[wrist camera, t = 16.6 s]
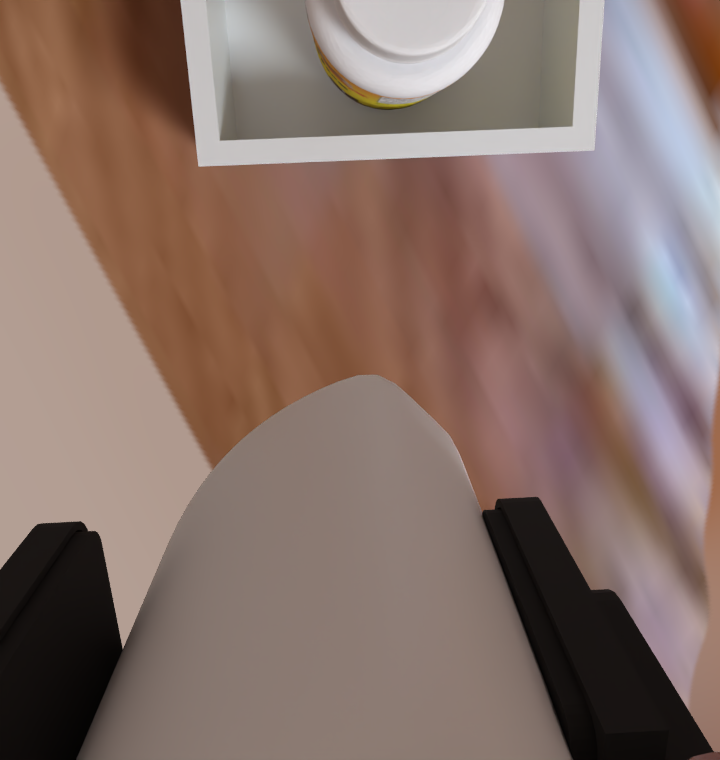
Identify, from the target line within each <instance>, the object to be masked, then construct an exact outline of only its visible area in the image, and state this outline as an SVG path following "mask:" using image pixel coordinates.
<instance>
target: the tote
mask: <svg viewBox="0 0 720 760" xmlns="http://www.w3.org/2000/svg"><path fill="white" fill-rule="evenodd" d="M181 10H182V19H183V28H184V37H185V46H186V56H187V65H188V74H189V83H190V93H191V102H192V111H193V120H194V129H195V139H196V148H197V157H198V166H223V165H248V164H272V163H297V162H322V161H346V160H371V159H396V158H420V157H445V156H470V155H494V154H519V153H544V152H568V151H593V150H594V148H595V133H596V118H597V103H598V88H599V74H600V59H601V44H602V29H603V14H604V0H504V6H503V10H502V14H501V17H500V21H499V24H498V27H497V29H496V32H495V34H494V36H493V38H492V40H491V42H490V44H489V45H488V47H487V49H486V50H485V52H484V53H483V55H482V56H481V57H480V58H479V60H478V61H477V62H476V63H475V64H474V65H473V67H472V68H471V69H470V70H469V71H468V72H467V73H466V74H464V75H463V76H462V77H461V78H460V79H458V80H457V81H455V82H454V83H453V84H451V85H450V86H448V87H446V88H444V89H442V90H441V91H439V92H437V93H435V94H434V95H432V96H430V97H428V98H426V99H425V100H423V101H421V102H419V103H417V104H415V105H412V106H410V107H406V108H401V109H394V110H381V109H374V108H370V107H367V106H364V105H361V104H359V103H357V102H355V101H354V100H352V99H350V98H349V97H348V96H346V95H345V94H344V93H343V92H342V91H340V90H339V89H338V88H337V86H336V85H335V84H334V83H333V82H332V80H331V79H330V78H329V76H328V75H327V73H326V72H325V70H324V68H323V66H322V64H321V61H320V59H319V56H318V53H317V50H316V46H315V43H314V39H313V35H312V32H311V28H310V25H309V21H308V18H307V12H306V6H305V0H181Z"/></svg>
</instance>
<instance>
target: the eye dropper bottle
mask: <svg viewBox="0 0 720 760" xmlns="http://www.w3.org/2000/svg"><path fill="white" fill-rule="evenodd" d="M76 760H573V758H572V756H571V753H570V750H569V748H568V745H567V742H566V739H565V736H564V734H563V731H562V728H561V725H560V722H559V720H558V717H557V714H556V711H555V708H554V706H553V703H552V700H551V697H550V694H549V692H548V689H547V686H546V684H545V681H544V678H543V676H542V673H541V670H540V668H539V665H538V662H537V660H536V657H535V654H534V652H533V649H532V646H531V644H530V641H529V638H528V636H527V633H526V630H525V628H524V625H523V622H522V620H521V617H520V614H519V612H518V609H517V606H516V604H515V601H514V598H513V596H512V593H511V590H510V588H509V585H508V582H507V580H506V577H505V574H504V572H503V569H502V566H501V564H500V561H499V558H498V556H497V553H496V551H495V548H494V545H493V543H492V540H491V537H490V535H489V532H488V530H487V527H486V524H485V522H484V519H483V516H482V511H481V508H480V506H479V503H478V501H477V498H476V495H475V493H474V490H473V488H472V485H471V482H470V480H469V477H468V475H467V472H466V469H465V467H464V464H463V462H462V459H461V457H460V454H459V452H458V450H457V448H456V446H455V445H454V443H453V441H452V439H451V437H450V435H449V434H448V433H447V432H446V431H445V430H444V429H443V428H442V427H441V426H440V425H439V424H438V423H437V422H436V421H435V420H434V419H433V418H432V417H431V416H430V415H429V414H428V413H427V412H426V411H425V410H423V409H422V408H421V407H420V406H419V405H418V404H417V403H416V402H415V401H414V400H413V399H412V398H411V397H410V396H409V395H408V394H406V393H405V392H404V391H403V390H402V389H401V388H400V387H398V386H397V385H396V384H395V383H393V382H391V381H389V380H387V379H385V378H383V377H381V376H379V375H357V376H354V377H351V378H348V379H345V380H342V381H339V382H336V383H334V384H331V385H329V386H327V387H324V388H322V389H320V390H317V391H315V392H313V393H311V394H309V395H307V396H305V397H303V398H301V399H299V400H298V401H296V402H294V403H292V404H290V405H289V406H287V407H285V408H284V409H282V410H281V411H279V412H278V413H276V414H274V415H273V416H271V417H270V418H269V419H267V420H266V421H264V422H263V423H262V424H260V425H259V426H258V427H256V428H255V429H254V430H253V431H251V432H250V433H249V434H248V435H247V436H245V437H244V438H243V439H242V440H241V441H240V442H239V443H238V444H237V445H236V446H234V447H233V448H232V449H231V450H230V452H229V453H228V454H227V455H226V456H225V457H224V458H223V459H222V460H221V461H220V462H219V463H218V465H217V466H216V467H215V468H214V469H213V470H212V472H211V473H210V474H209V475H208V477H207V478H206V479H205V481H204V482H203V483H202V485H201V486H200V488H199V489H198V490H197V492H196V494H195V495H194V497H193V498H192V500H191V501H190V503H189V504H188V506H187V508H186V510H185V511H184V513H183V515H182V517H181V519H180V521H179V522H178V524H177V527H176V529H175V531H174V533H173V535H172V537H171V539H170V541H169V544H168V546H167V548H166V551H165V553H164V555H163V557H162V560H161V562H160V564H159V567H158V569H157V572H156V574H155V576H154V578H153V581H152V583H151V585H150V588H149V590H148V592H147V595H146V597H145V599H144V602H143V604H142V606H141V609H140V611H139V613H138V616H137V618H136V620H135V623H134V625H133V627H132V630H131V632H130V635H129V637H128V639H127V641H126V644H125V646H124V648H123V651H122V653H121V655H120V658H119V660H118V662H117V665H116V667H115V669H114V672H113V674H112V676H111V679H110V681H109V683H108V686H107V688H106V691H105V693H104V695H103V698H102V700H101V702H100V705H99V707H98V709H97V712H96V714H95V716H94V719H93V721H92V724H91V726H90V728H89V731H88V733H87V735H86V738H85V740H84V742H83V745H82V747H81V749H80V752H79V754H78V757H77V759H76Z"/></svg>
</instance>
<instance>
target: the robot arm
mask: <svg viewBox="0 0 720 760" xmlns="http://www.w3.org/2000/svg"><path fill="white" fill-rule="evenodd" d="M482 516H483V519H484V522H485V524H486V527H487V530H488V532H489V535H490V537H491V540H492V543H493V545H494V548H495V551H496V553H497V556H498V558H499V561H500V564H501V566H502V569H503V572H504V574H505V577H506V580H507V582H508V585H509V588H510V590H511V593H512V596H513V598H514V601H515V604H516V606H517V609H518V612H519V614H520V617H521V620H522V622H523V625H524V628H525V630H526V633H527V636H528V638H529V641H530V644H531V646H532V649H533V652H534V654H535V657H536V660H537V662H538V665H539V668H540V670H541V673H542V676H543V678H544V681H545V684H546V686H547V689H548V692H549V694H550V697H551V700H552V703H553V706H554V708H555V711H556V714H557V717H558V720H559V722H560V725H561V728H562V731H563V734H564V736H565V739H566V742H567V745H568V748H569V750H570V753H571V756H572V758H573V760H720V752H714V751H713V750H712V748H711V747H710V745H709V743H708V742H707V740H706V739H705V737H704V735H703V733H702V732H701V730H700V729H699V727H698V725H697V724H696V722H695V721H694V719H693V717H692V716H691V714H690V712H689V711H688V709H687V707H686V706H685V704H684V702H683V701H682V699H681V698H680V696H679V694H678V693H677V691H676V689H675V688H674V686H673V685H672V683H671V681H670V680H669V678H668V676H667V675H666V673H665V671H664V670H663V668H662V667H661V665H660V663H659V662H658V660H657V658H656V657H655V655H654V654H653V652H652V650H651V649H650V647H649V645H648V644H647V642H646V640H645V639H644V637H643V636H642V634H641V632H640V631H639V629H638V627H637V626H636V624H635V623H634V621H633V619H632V618H631V616H630V614H629V613H628V611H627V609H626V608H625V606H624V605H623V603H622V601H621V600H620V598H619V597H618V596H617V595H616V593H615V592H613V591H611V590H609V589H604V590H590V588H589V586H588V584H587V582H586V581H585V579H584V577H583V575H582V573H581V572H580V570H579V568H578V566H577V564H576V563H575V561H574V559H573V557H572V556H571V554H570V552H569V550H568V548H567V547H566V545H565V543H564V541H563V539H562V538H561V536H560V534H559V532H558V531H557V529H556V527H555V525H554V523H553V522H552V520H551V518H550V516H549V514H548V513H547V511H546V509H545V507H544V506H543V504H542V502H541V500H540V499H539V498H538V497H527V498H508V499H498V500H497V501H496V505H495V510H484V511H483V513H482ZM122 651H123V649H122V643H121V639H120V634H119V628H118V623H117V618H116V613H115V608H114V603H113V598H112V593H111V588H110V582H109V578H108V572H107V567H106V562H105V557H104V552H103V548H102V542H101V539H100V536H99V534H98V533H97V532H96V531H88V530H87V528H86V526H85V524H84V523H82V522H81V521H80V522H62V523H43V524H37V525H36V526H35V527H34V528H33V529H32V530H31V532H30V533H29V534H28V536H27V537H26V538H25V539H24V540H23V542H22V543H21V544H20V545H19V547H18V548H17V549H16V551H15V552H14V553H13V554H12V556H11V557H10V558H9V559H8V561H7V562H6V563H5V564H4V566H3V567H2V568H1V570H0V760H76V759H77V757H78V754H79V752H80V749H81V747H82V745H83V742H84V740H85V738H86V735H87V733H88V731H89V728H90V726H91V724H92V721H93V719H94V716H95V714H96V712H97V709H98V707H99V705H100V702H101V700H102V698H103V695H104V693H105V691H106V688H107V686H108V683H109V681H110V679H111V676H112V674H113V672H114V669H115V667H116V665H117V662H118V660H119V658H120V655H121V653H122Z"/></svg>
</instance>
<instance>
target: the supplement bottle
mask: <svg viewBox="0 0 720 760" xmlns="http://www.w3.org/2000/svg"><path fill="white" fill-rule="evenodd" d="M305 6H306V12H307V18H308V21H309V25H310V28H311V32H312V35H313V39H314V43H315V46H316V50H317V53H318V56H319V59H320V61H321V64H322V66H323V68H324V70H325V72H326V73H327V75H328V76H329V78H330V79H331V80H332V82H333V83H334V84H335V85H336V86H337V88H338V89H339V90H340V91H342V92H343V93H344V94H345V95H346V96H348V97H349V98H350V99H352V100H354V101H355V102H357V103H359V104H361V105H364V106H367V107H370V108H374V109H381V110H394V109H401V108H406V107H410V106H412V105H415V104H417V103H419V102H421V101H423V100H425V99H426V98H428V97H430V96H432V95H434V94H435V93H437V92H439V91H441V90H442V89H444V88H446V87H448V86H450V85H451V84H453V83H454V82H455V81H457V80H458V79H460V78H461V77H462V76H463V75H464V74H466V73H467V72H468V71H469V70H470V69H471V68H472V67H473V65H474V64H475V63H476V62H477V61H478V60H479V58H480V57H481V56H482V55H483V53H484V52H485V50H486V49H487V47H488V45H489V44H490V42H491V40H492V38H493V36H494V34H495V32H496V29H497V27H498V24H499V21H500V17H501V14H502V10H503V6H504V0H305Z"/></svg>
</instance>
